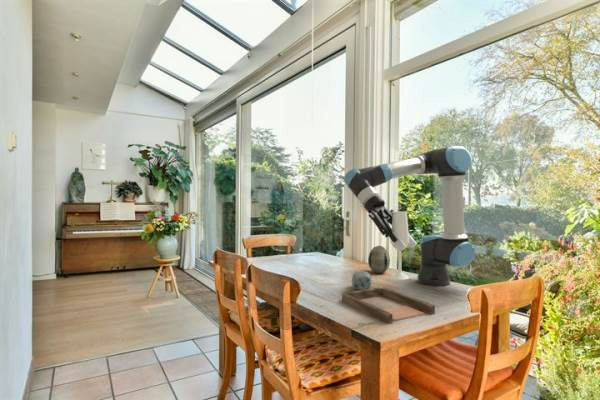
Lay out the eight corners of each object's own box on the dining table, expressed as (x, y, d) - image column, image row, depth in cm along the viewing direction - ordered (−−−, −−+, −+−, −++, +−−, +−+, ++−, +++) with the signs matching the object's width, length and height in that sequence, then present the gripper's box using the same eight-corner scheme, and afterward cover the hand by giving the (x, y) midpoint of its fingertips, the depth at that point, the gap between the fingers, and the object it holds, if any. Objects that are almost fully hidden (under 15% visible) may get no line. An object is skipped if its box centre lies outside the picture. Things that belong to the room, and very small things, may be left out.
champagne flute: (388, 275, 132) (388, 211, 132) (406, 275, 132) (406, 211, 132) (392, 279, 126) (392, 212, 125) (411, 279, 125) (411, 212, 125)
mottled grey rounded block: (375, 287, 153) (365, 265, 156) (356, 296, 154) (345, 275, 157) (376, 286, 166) (367, 267, 169) (358, 295, 167) (349, 275, 170)
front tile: (405, 306, 137) (405, 305, 137) (424, 314, 128) (424, 313, 128) (376, 312, 130) (376, 310, 130) (394, 320, 122) (394, 319, 122)
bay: (382, 293, 155) (382, 286, 155) (434, 313, 129) (434, 305, 129) (340, 300, 145) (340, 293, 145) (387, 323, 119) (387, 315, 119)
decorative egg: (363, 272, 197) (363, 245, 197) (380, 269, 202) (380, 243, 201) (376, 276, 186) (376, 248, 186) (394, 274, 191) (394, 246, 191)
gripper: (380, 206, 146) (416, 250, 135) (349, 208, 133) (386, 256, 122) (391, 194, 142) (429, 237, 130) (360, 194, 129) (399, 243, 117)
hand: (408, 247), depth 126 cm, fingers closed on champagne flute, 7 cm apart
